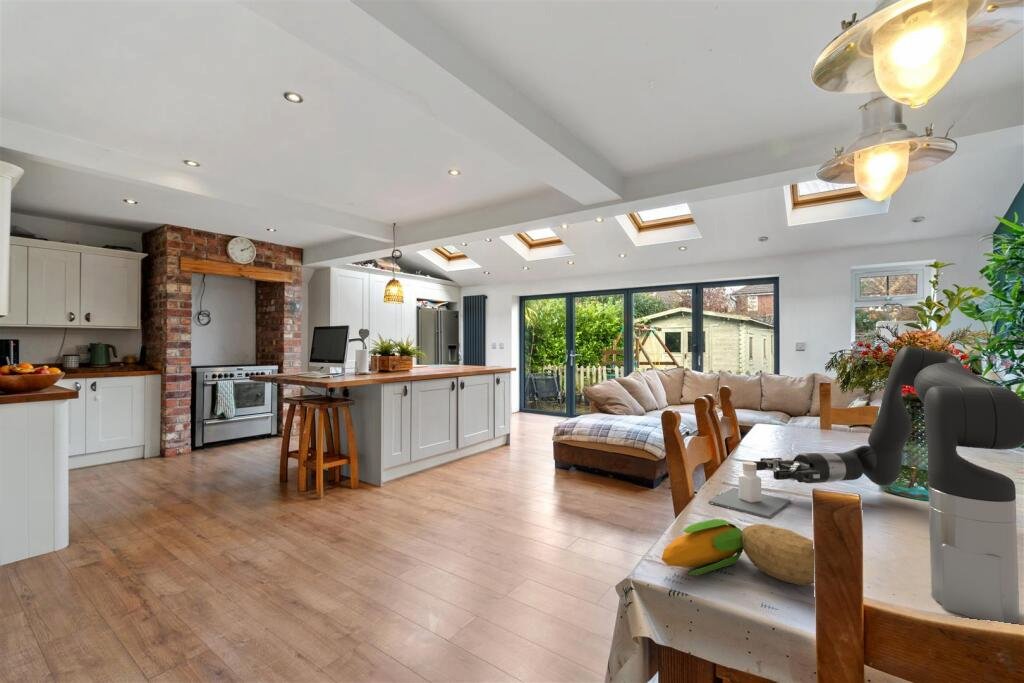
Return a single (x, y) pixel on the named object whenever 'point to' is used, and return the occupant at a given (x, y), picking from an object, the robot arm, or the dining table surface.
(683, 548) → the corn
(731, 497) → the slate mat
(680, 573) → the dining table surface
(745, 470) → the pepper shaker
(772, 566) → the potato
